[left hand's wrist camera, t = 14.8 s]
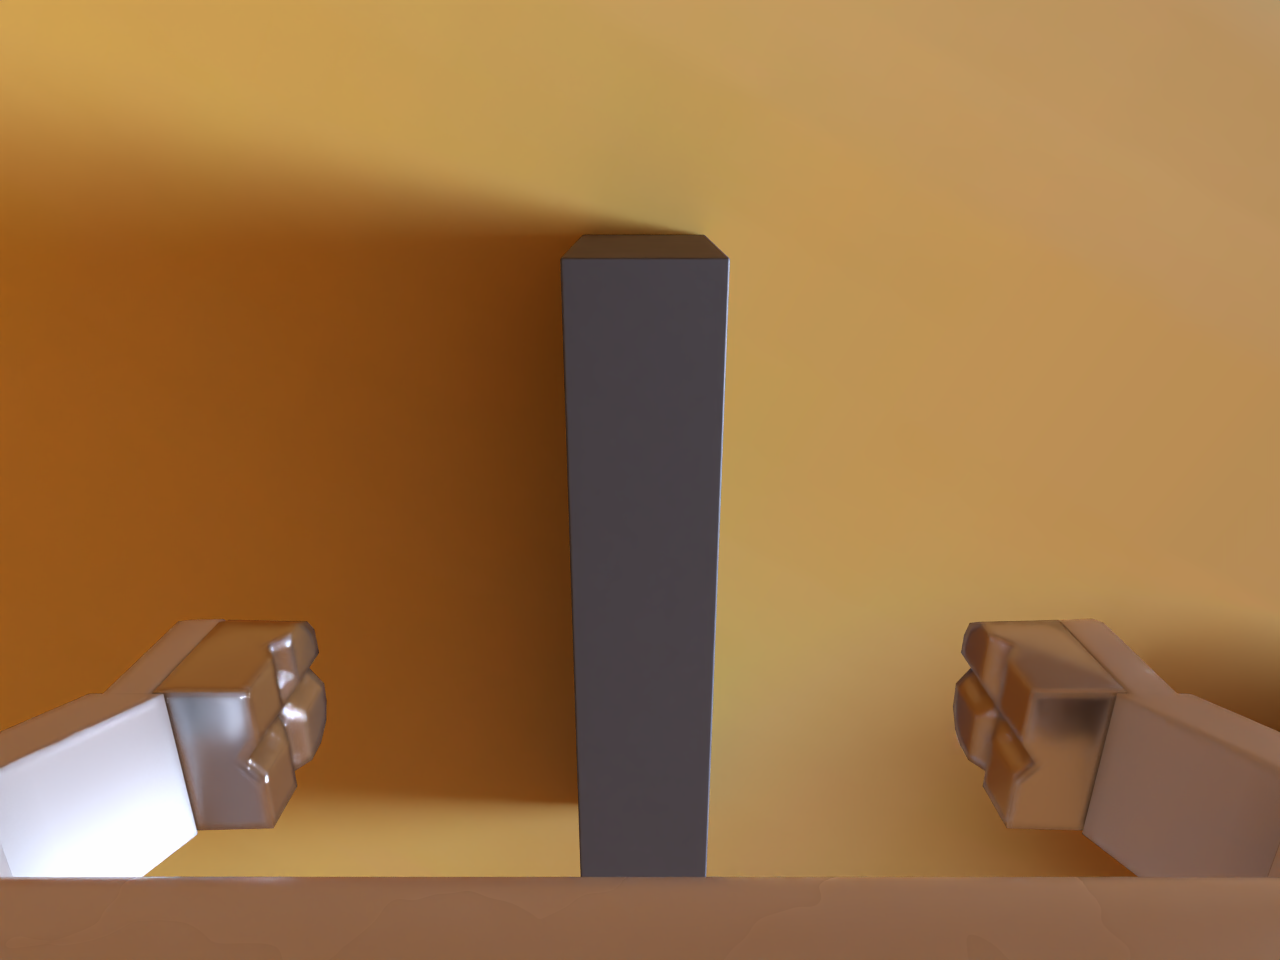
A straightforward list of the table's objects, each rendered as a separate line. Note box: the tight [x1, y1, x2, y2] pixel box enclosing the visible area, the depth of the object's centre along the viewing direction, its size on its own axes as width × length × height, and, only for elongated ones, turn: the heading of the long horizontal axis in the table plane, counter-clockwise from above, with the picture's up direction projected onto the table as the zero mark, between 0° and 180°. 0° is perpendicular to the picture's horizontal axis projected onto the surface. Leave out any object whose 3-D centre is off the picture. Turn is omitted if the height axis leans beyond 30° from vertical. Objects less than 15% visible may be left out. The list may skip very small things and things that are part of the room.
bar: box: [560, 235, 730, 877], centre depth 31 cm, size 27×5×9 cm, turn 0°
